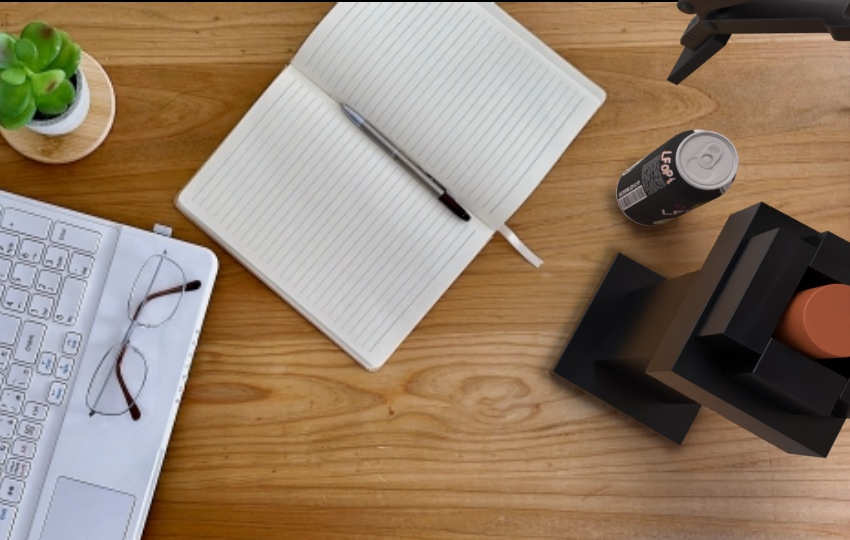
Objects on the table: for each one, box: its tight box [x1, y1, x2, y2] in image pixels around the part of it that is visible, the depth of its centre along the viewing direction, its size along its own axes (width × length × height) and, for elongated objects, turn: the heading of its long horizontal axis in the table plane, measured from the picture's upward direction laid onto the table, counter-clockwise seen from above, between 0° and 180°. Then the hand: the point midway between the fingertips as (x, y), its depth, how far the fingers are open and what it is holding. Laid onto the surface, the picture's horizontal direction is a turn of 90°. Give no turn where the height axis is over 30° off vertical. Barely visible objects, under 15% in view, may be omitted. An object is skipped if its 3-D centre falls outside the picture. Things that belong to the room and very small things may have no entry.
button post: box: [548, 200, 850, 459], centre depth 61 cm, size 12×12×26 cm
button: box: [773, 284, 850, 359], centre depth 48 cm, size 4×4×3 cm
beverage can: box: [615, 128, 740, 227], centre depth 70 cm, size 6×6×12 cm
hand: (778, 116), depth 55 cm, fingers open, 13 cm apart
